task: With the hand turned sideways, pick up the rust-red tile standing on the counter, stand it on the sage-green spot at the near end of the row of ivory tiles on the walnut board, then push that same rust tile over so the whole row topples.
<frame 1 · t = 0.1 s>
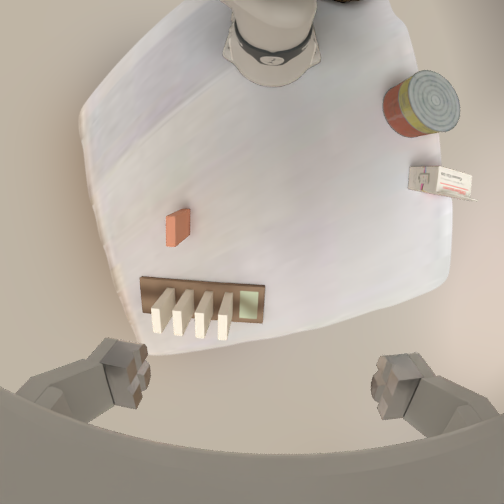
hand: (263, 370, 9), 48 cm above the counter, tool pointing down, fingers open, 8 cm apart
canned food: (406, 111, 49), on the counter
rust tile: (185, 221, 57), on the counter
ivory tile 5: (171, 299, 60), point 1 cm above the counter, touching walnut board
ivory tile 3: (209, 302, 60), point 1 cm above the counter, touching walnut board
ivory tile 2: (228, 303, 60), point 1 cm above the counter, touching walnut board
walnut board: (200, 299, 61), on the counter
ivory tile 4: (190, 300, 60), point 1 cm above the counter, touching walnut board
ink cartridge box: (424, 180, 53), on the counter
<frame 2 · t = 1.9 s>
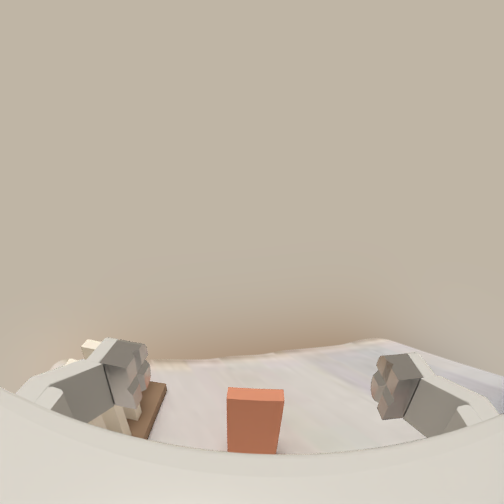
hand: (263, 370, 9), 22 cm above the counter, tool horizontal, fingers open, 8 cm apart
rust tile: (251, 455, 27), on the counter
ivory tile 5: (121, 412, 30), point 1 cm above the counter, touching walnut board
walnut board: (107, 451, 24), on the counter
ivory tile 4: (110, 434, 26), point 1 cm above the counter, touching walnut board
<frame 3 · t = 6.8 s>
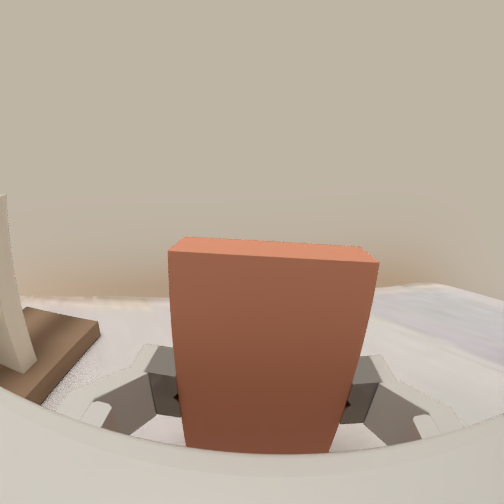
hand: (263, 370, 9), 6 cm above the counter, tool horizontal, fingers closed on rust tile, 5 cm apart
rust tile: (253, 475, 10), on the counter, touching gripper
ivory tile 5: (6, 357, 13), point 1 cm above the counter, touching walnut board
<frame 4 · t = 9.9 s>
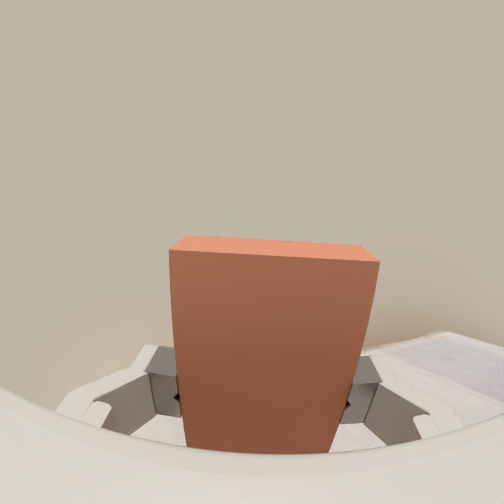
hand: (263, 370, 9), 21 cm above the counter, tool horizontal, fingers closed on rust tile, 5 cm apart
rust tile: (254, 474, 10), point 15 cm above the counter, touching gripper
when the fingers open (8 cm above the counter, at t = 13.1 s): rust tile stays where it is, resting on walnut board.
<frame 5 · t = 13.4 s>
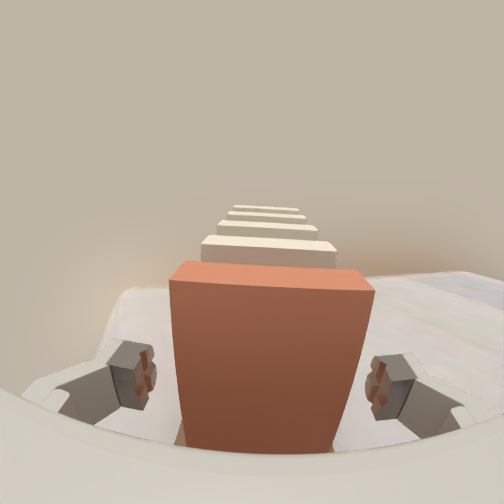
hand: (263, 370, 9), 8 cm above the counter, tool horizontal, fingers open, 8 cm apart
rust tile: (253, 482, 10), point 1 cm above the counter, touching walnut board
ivory tile 5: (259, 323, 26), point 1 cm above the counter, touching walnut board
ivory tile 3: (257, 380, 18), point 1 cm above the counter, touching walnut board
ivory tile 2: (255, 424, 14), point 1 cm above the counter, touching walnut board
ivory tile 4: (258, 347, 22), point 1 cm above the counter, touching walnut board
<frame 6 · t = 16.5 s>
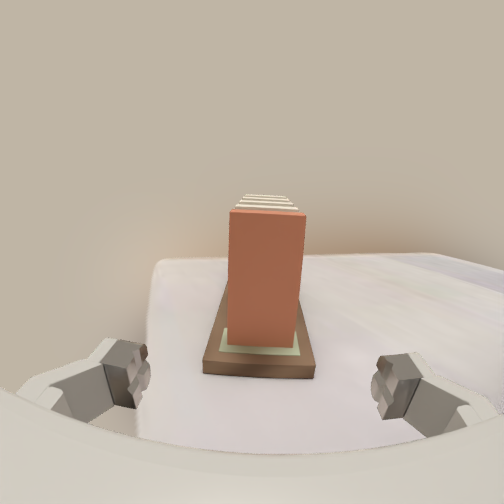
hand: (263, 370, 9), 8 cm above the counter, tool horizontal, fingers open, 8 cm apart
rust tile: (260, 341, 23), point 1 cm above the counter, touching walnut board
ivory tile 3: (260, 300, 30), point 1 cm above the counter, touching walnut board
ivory tile 2: (260, 318, 27), point 1 cm above the counter, touching walnut board
walnut board: (260, 303, 33), on the counter
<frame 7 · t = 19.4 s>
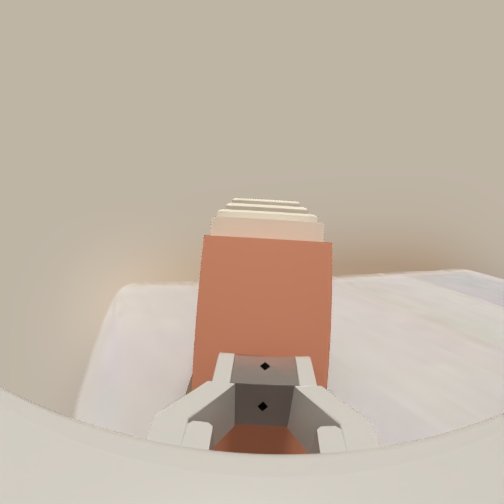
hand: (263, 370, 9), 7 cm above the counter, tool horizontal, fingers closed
rust tile: (252, 476, 10), point 2 cm above the counter, tilted 30°, touching walnut board
ivory tile 5: (258, 319, 25), point 1 cm above the counter, touching walnut board
ivory tile 3: (256, 376, 17), point 1 cm above the counter, touching walnut board
ivory tile 2: (254, 418, 14), point 1 cm above the counter, tilted 17°, touching walnut board
ivory tile 4: (257, 344, 21), point 1 cm above the counter, touching walnut board
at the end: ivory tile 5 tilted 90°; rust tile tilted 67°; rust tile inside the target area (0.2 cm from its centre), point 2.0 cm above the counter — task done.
